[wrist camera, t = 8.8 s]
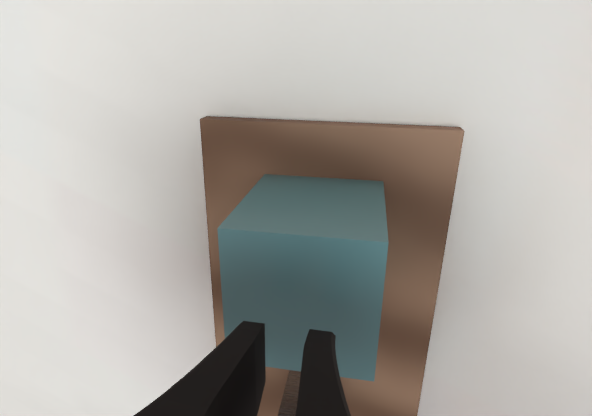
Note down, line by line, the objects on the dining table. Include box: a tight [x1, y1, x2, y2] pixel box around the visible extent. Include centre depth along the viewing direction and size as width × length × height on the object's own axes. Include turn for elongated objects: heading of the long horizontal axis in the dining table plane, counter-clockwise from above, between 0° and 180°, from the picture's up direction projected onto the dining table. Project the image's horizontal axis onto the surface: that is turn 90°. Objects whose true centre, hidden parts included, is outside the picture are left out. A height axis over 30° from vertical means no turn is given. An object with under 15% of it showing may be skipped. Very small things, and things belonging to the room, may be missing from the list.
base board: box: [200, 116, 464, 416], centre depth 21 cm, size 19×11×1 cm, turn 179°
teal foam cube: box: [217, 174, 389, 382], centre depth 16 cm, size 5×5×6 cm
